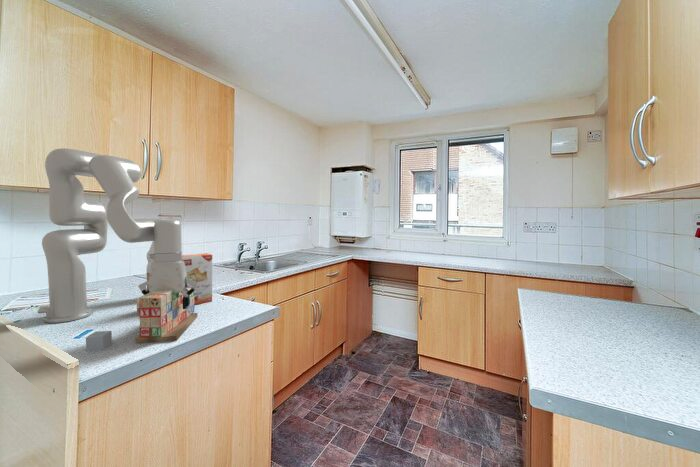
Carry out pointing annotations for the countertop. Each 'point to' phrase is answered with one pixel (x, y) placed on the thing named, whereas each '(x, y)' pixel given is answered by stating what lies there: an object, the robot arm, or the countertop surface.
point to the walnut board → (170, 332)
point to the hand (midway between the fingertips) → (169, 308)
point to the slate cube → (98, 340)
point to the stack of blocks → (162, 312)
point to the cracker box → (200, 275)
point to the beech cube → (137, 307)
